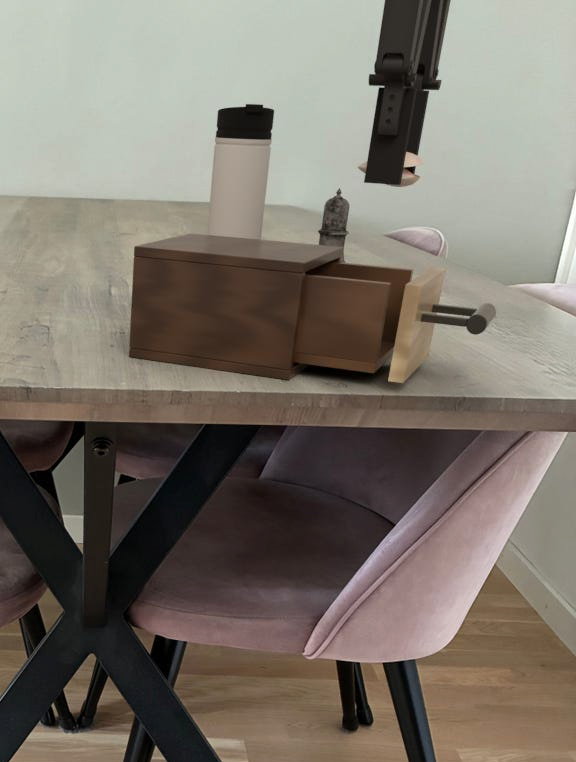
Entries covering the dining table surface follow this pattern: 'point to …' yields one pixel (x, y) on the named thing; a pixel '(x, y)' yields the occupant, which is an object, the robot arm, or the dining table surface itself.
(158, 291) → the cabinet
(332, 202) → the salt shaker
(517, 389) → the dining table surface
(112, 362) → the dining table surface
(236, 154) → the travel mug
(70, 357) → the dining table surface
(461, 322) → the drawer
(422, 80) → the robot arm
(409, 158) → the beige seashell
